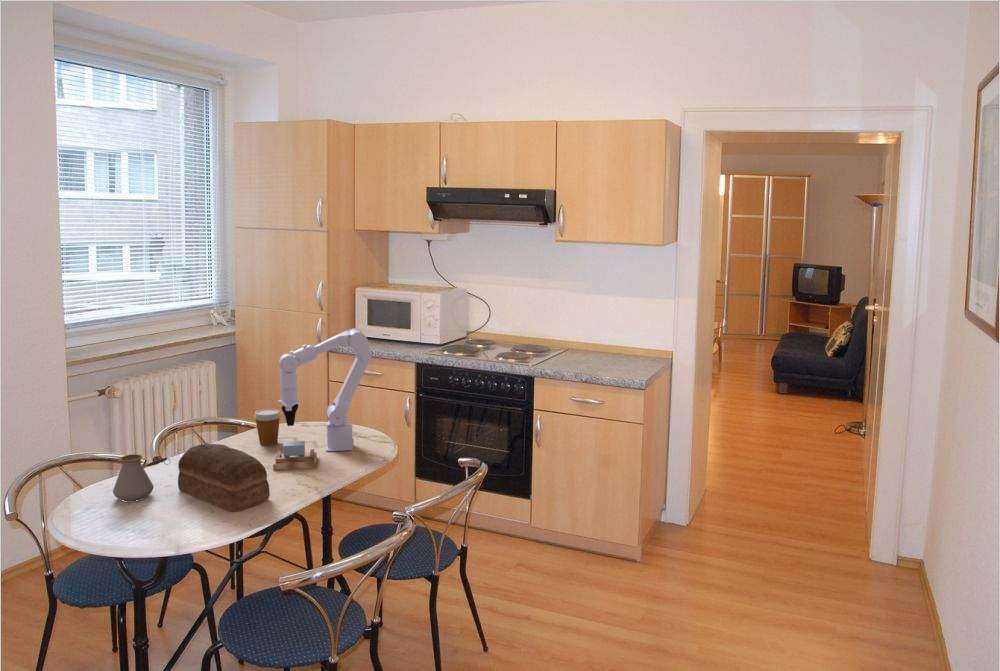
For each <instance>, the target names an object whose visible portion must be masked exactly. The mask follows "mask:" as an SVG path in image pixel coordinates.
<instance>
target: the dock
mask: <svg viewBox="0 0 1000 671" xmlns="http://www.w3.org/2000/svg"><path fill="white" fill-rule="evenodd" d="M317 458H318V452H317V451H315V449H311V448H310V452H309V451H308V452H307V451H305V455H304V457H299V456H289V457H287V458H284V456H283V453H282V451H281V450H277V452H276V453H275V455H274V460H273V462H272V463H273V464H272V468H273V471H281V469H284V470H300V468H301V469H302V470H303V469H317V460H318V459H317ZM298 468H299V469H298Z"/></svg>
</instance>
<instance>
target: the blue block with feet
mask: <svg viewBox="0 0 1000 671" xmlns="http://www.w3.org/2000/svg"><path fill="white" fill-rule="evenodd" d="M305 444H306V442H305V440H297V441H283V444H282V454H283V456H284V458H287V457H289V456H299V457H304V455H305V453H306V445H305Z"/></svg>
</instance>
